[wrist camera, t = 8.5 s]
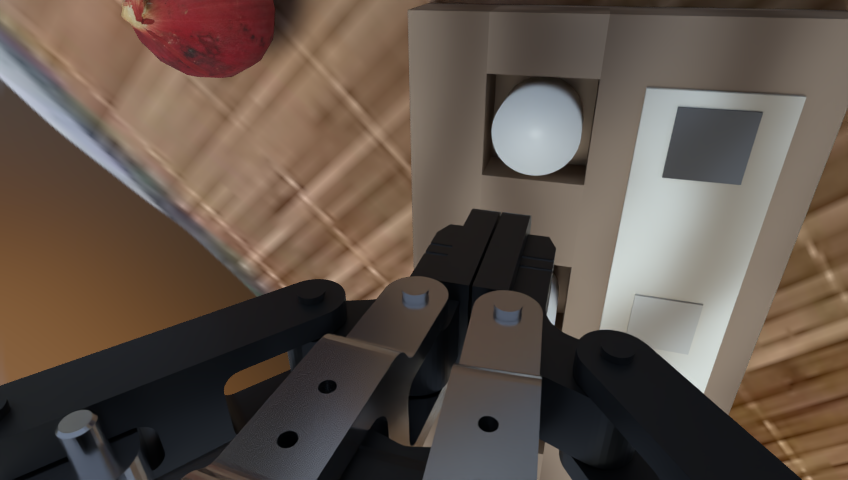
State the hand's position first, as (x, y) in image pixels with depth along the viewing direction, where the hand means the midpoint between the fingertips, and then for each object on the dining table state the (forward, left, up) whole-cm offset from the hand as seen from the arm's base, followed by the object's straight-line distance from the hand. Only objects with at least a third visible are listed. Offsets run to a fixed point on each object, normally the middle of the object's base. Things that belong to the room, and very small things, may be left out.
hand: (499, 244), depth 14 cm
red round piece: (+15, -5, -13) cm, 20 cm away
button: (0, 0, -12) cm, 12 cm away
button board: (-2, +8, -13) cm, 15 cm away
